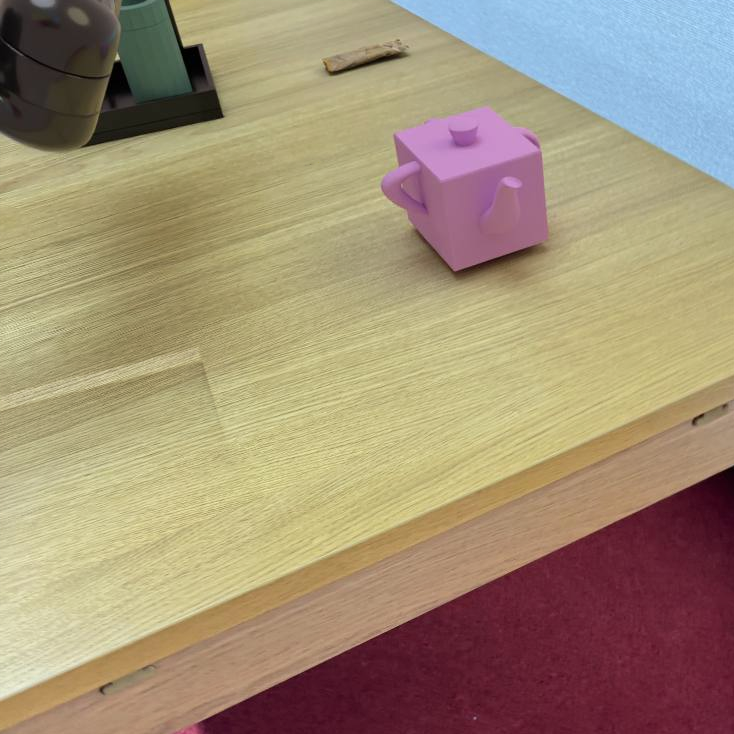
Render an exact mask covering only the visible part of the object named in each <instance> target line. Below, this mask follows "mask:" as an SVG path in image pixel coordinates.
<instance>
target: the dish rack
mask: <svg viewBox="0 0 734 734" xmlns="http://www.w3.org/2000/svg"><path fill="white" fill-rule="evenodd" d="M164 1H165V5H166V8H167V11H168V14H169V17H170V21H171V24H172V27H173V30H174V33H175V36H176V40H177V43H178V46H179V49H180V52H181V56H182V59H183V62H184V65H185V68H186V72H187V75H188V78H189V81H190V84H191V87H192V91H193V92H188V93H183V94H178V95H173V96H169V97H164V98H159V99H154V100H149V101H144V102H140V103H135V100H134V97H133V94H132V92H131V89H130V86H129V83H128V80H127V78H126V75H125V72H124V69H123V66H122V63H121V61H120V59H117V60H116V59H115V62H114V65H113V69H112V71H111V76H110V79H109V82H108V86H107V89H106V92H105V96H104V99H103V103H102V106H101V110H100V113H99V117H98V121H97V124H96V127H95V130H94V132H93V134H92V136H91V138H90V140H89V141H88V142H87V143H86V144H85V145H83V146H81V147H80V148H84V147H88V146H92V145H98V144H102V143H107V142H112V141H117V140H121V139H126V138H130V137H131V138H132V137H135V136H140V135H146V134H149V133H155V132H158V131H159V132H160V131H164V130H168V129H173V128H178V127H182V126H187V125H193V124H197V123H202V122H206V121H211V120H216V119H221V118H224V117H225V115H224V113H223V110H222V109H223V108H222V105H221V102H220V98H219V94H218V92H217V88H216V85H215V81H214V77H213V74H212V70H211V66H210V63H209V60H208V57H207V53H206V50H205V48H204V43H202V42H201V43H196V44H191V45H185V46H184V44H183V41H182V37H181V35H180V34H181V33H180V30H179V28H178V25H177V22H176V18H175V15H174V12H173V8H172V5H171V1H170V0H164Z"/></svg>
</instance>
